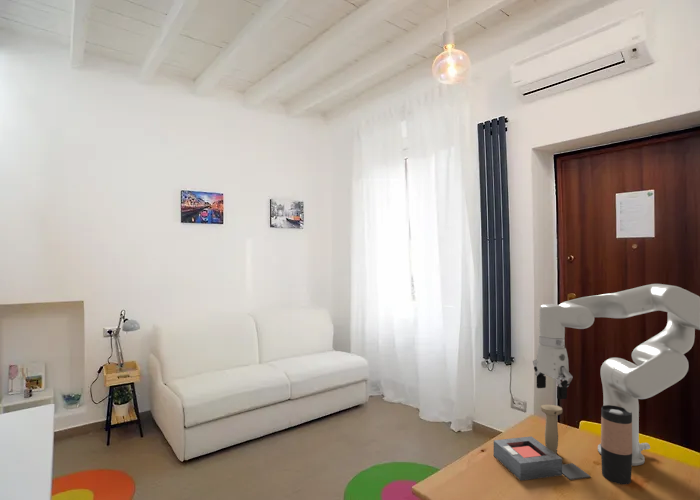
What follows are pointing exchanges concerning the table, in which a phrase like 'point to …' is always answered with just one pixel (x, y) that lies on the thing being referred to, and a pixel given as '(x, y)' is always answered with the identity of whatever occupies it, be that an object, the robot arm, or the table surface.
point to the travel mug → (616, 444)
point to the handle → (551, 426)
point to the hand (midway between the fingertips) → (551, 393)
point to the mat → (573, 472)
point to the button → (526, 451)
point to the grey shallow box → (527, 459)
